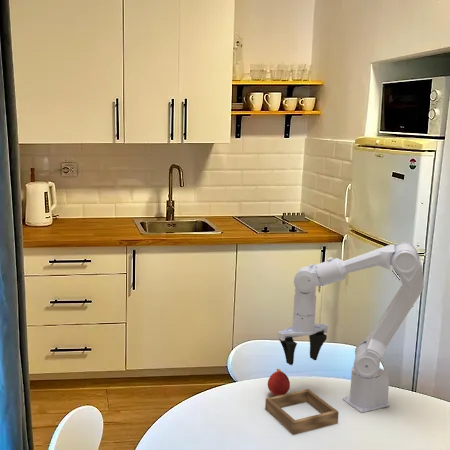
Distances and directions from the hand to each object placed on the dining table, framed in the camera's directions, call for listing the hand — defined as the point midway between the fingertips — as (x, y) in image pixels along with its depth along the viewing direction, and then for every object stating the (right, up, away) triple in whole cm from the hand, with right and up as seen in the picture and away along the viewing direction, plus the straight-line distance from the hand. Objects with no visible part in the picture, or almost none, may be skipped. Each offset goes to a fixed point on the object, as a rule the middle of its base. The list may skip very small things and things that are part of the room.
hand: (301, 361), depth 157 cm
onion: (-6, -10, 0) cm, 11 cm away
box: (-1, -11, -10) cm, 15 cm away
